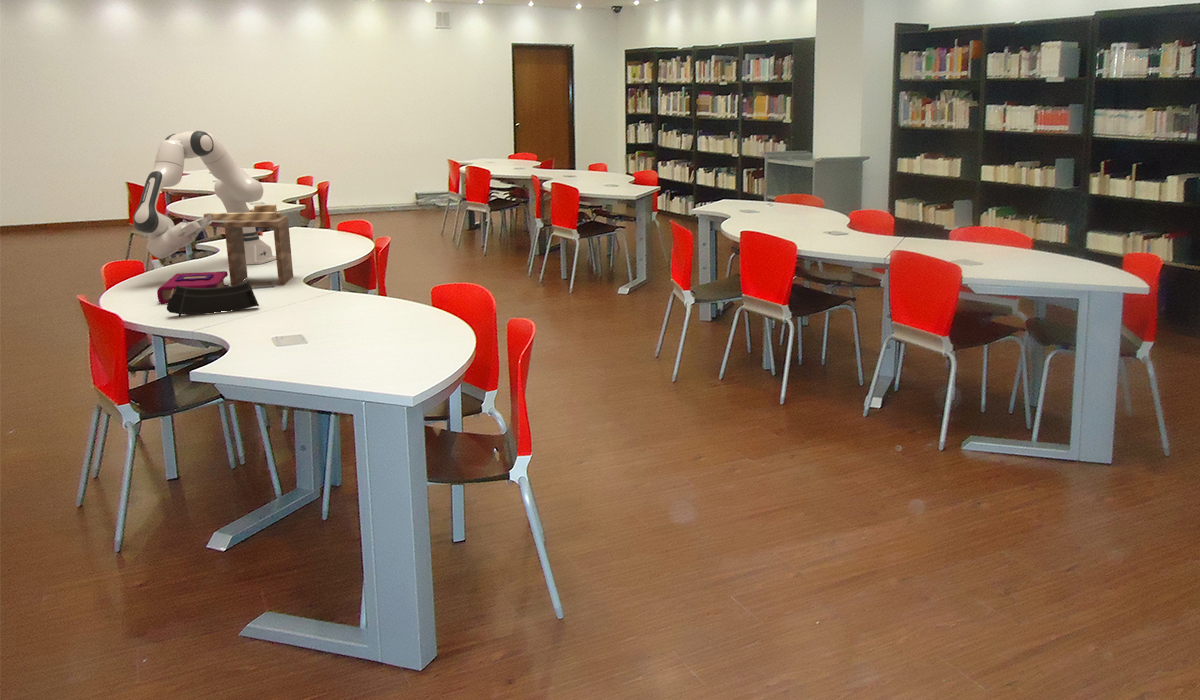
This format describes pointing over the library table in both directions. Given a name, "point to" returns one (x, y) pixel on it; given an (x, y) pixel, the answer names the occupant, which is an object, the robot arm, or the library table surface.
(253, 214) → the batten
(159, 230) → the robot arm
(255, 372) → the library table surface
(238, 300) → the magazine
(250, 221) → the rack
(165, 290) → the book
